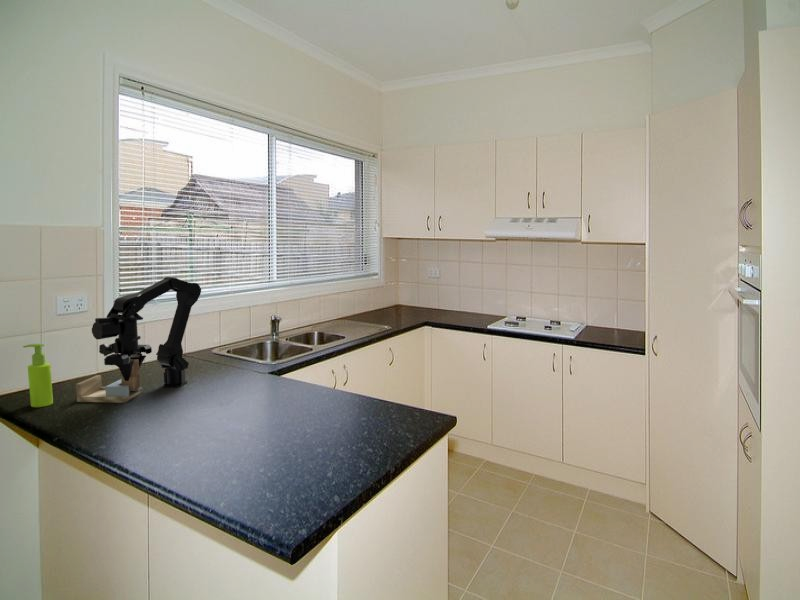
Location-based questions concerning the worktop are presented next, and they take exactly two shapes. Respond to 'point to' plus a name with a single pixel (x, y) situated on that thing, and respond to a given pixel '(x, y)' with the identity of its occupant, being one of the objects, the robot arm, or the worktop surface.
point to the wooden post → (133, 377)
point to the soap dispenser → (39, 379)
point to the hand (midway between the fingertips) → (130, 379)
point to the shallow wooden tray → (99, 392)
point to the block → (118, 389)
